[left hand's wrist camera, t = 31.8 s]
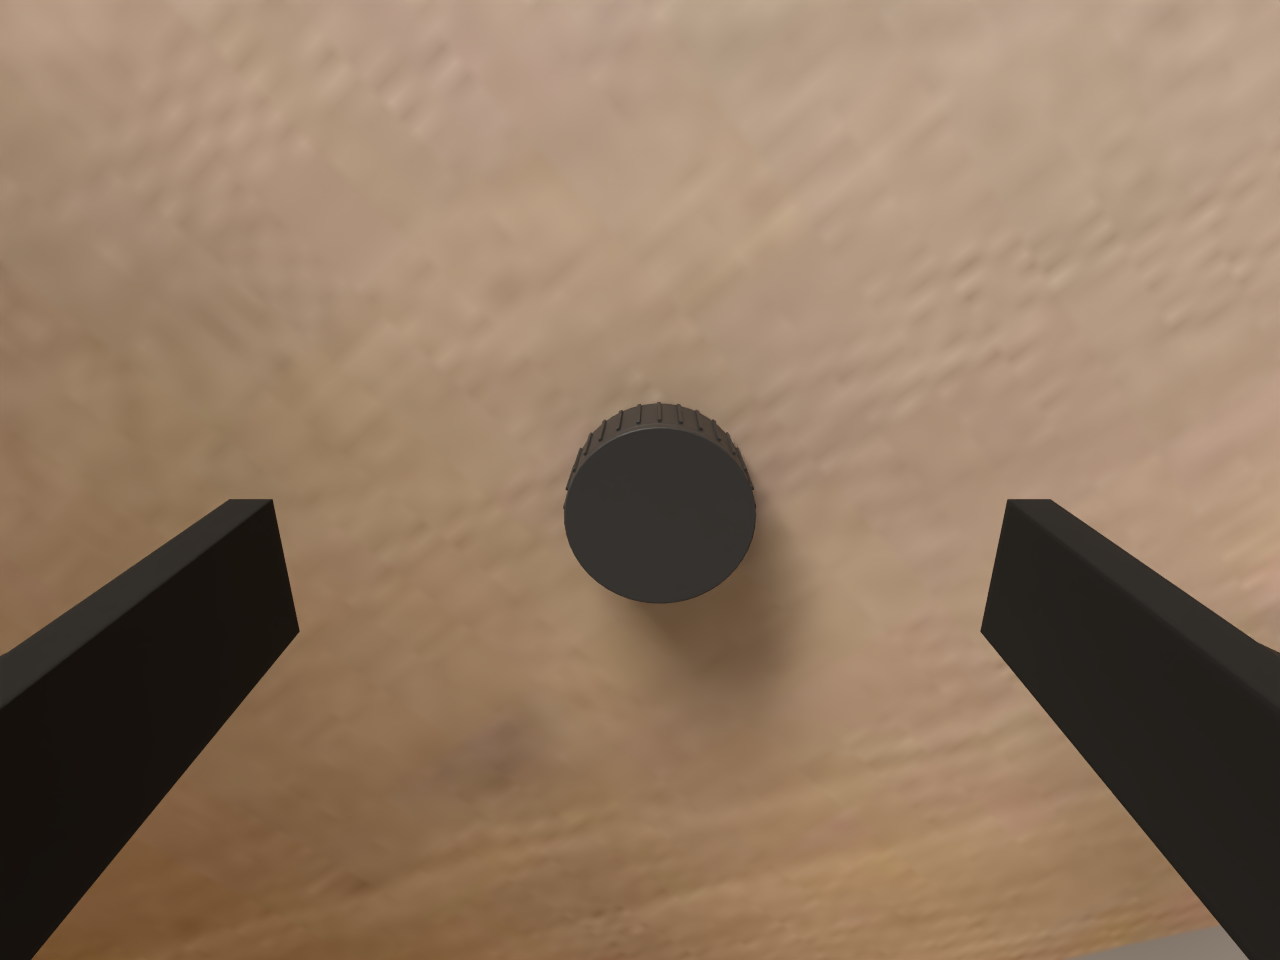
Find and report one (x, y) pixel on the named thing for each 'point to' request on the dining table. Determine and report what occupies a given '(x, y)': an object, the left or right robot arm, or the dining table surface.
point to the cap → (659, 504)
